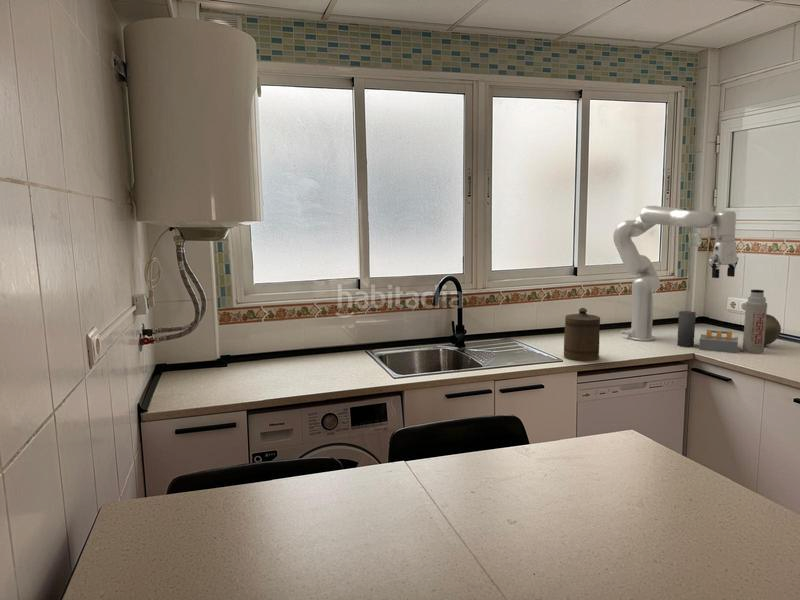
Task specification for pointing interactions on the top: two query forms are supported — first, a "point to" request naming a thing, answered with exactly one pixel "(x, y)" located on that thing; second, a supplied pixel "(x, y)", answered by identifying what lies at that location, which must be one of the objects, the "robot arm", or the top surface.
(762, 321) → the thermos bottle
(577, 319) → the wooden container
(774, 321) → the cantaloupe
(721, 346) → the breaker box
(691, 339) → the dark gray cylinder
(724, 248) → the robot arm
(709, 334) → the breaker paddles
